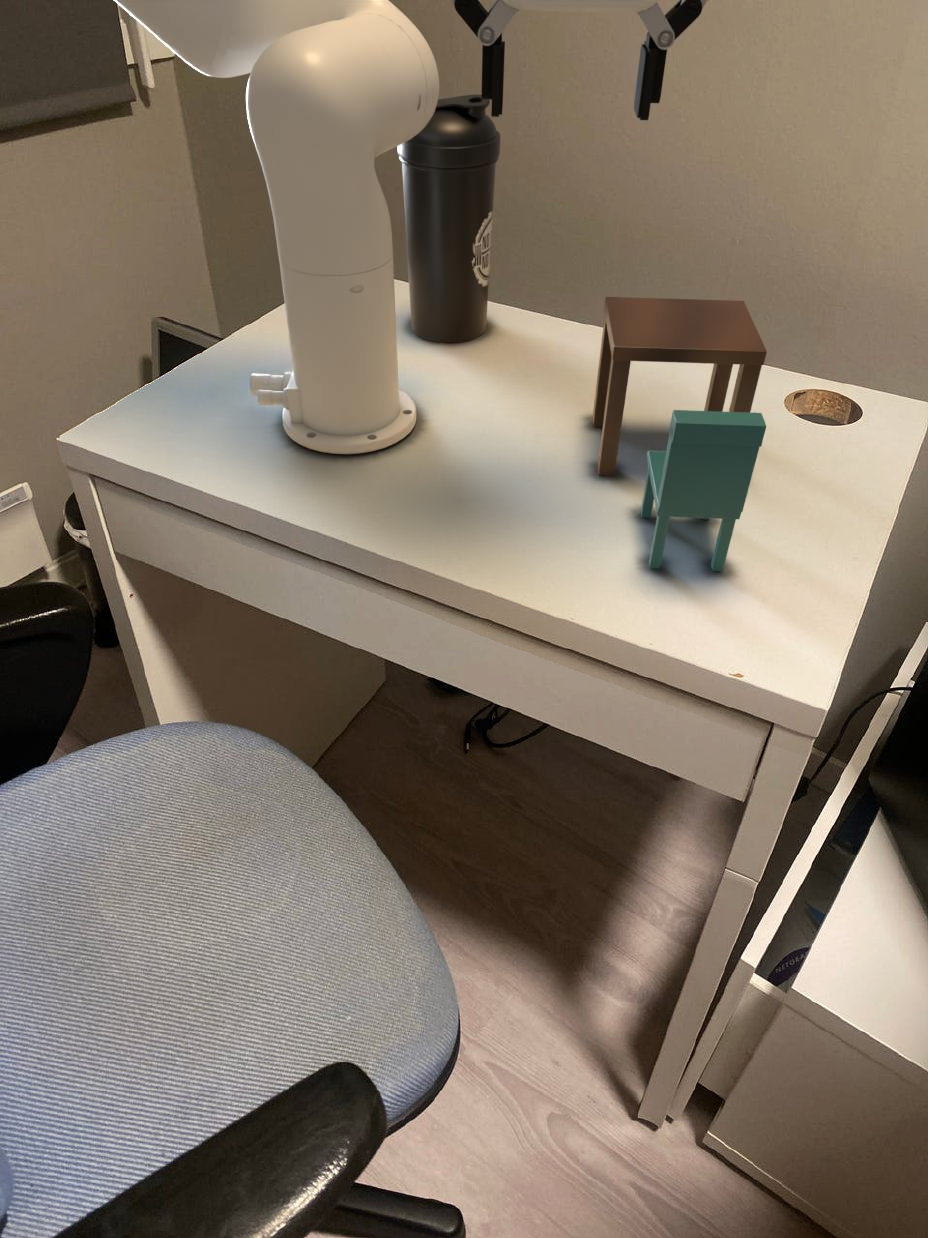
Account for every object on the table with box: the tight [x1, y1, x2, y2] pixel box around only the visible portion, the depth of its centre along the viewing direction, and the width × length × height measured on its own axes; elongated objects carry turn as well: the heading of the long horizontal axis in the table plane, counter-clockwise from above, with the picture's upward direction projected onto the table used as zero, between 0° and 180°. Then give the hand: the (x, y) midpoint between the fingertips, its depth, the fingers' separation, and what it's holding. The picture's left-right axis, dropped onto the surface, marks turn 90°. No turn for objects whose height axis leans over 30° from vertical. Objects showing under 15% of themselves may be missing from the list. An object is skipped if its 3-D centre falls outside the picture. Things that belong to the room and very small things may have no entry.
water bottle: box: [396, 94, 501, 344], centre depth 94 cm, size 10×10×23 cm
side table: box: [592, 296, 768, 477], centre depth 78 cm, size 12×10×12 cm
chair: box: [640, 409, 767, 572], centre depth 67 cm, size 8×6×13 cm
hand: (568, 113), depth 60 cm, fingers open, 9 cm apart
